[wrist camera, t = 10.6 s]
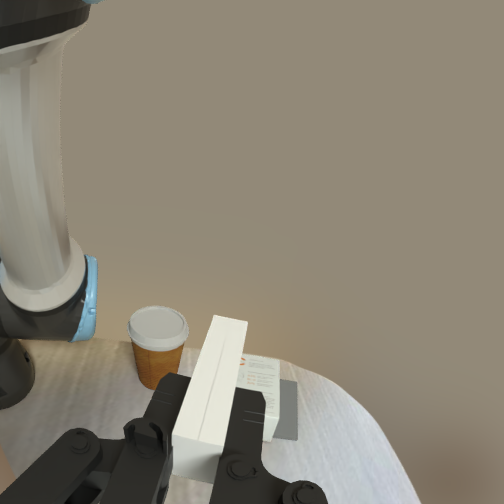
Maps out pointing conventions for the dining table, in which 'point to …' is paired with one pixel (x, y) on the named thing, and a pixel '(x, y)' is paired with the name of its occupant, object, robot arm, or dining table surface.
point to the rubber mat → (287, 411)
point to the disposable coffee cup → (157, 342)
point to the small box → (262, 386)
